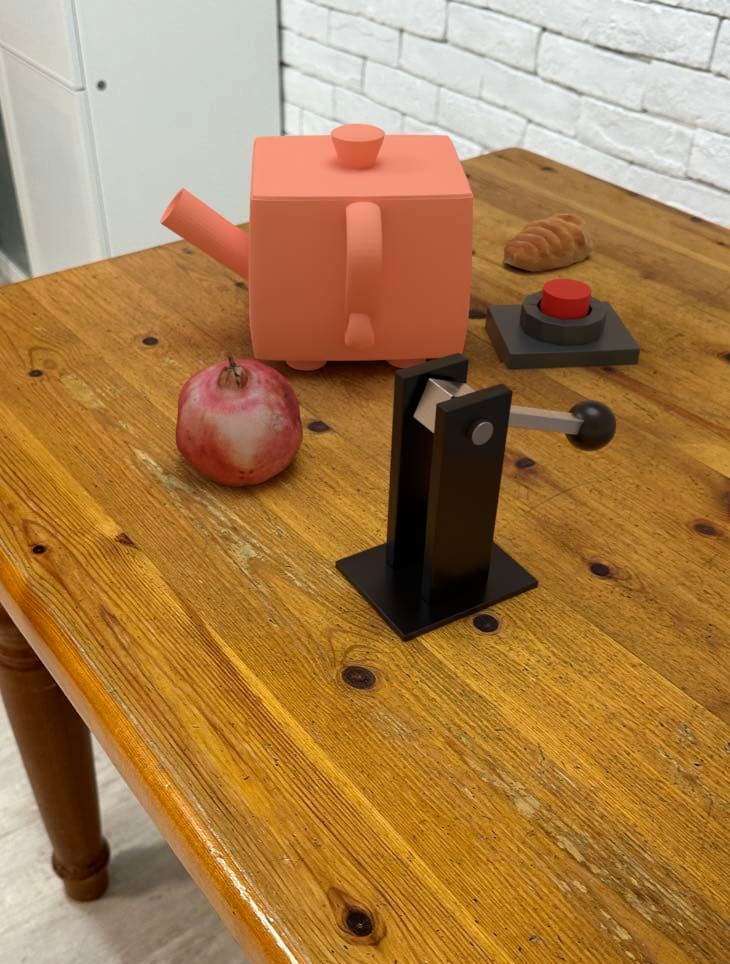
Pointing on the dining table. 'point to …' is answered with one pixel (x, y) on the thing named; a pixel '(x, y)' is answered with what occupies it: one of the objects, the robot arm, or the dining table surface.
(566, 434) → the tap lever
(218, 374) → the fruit
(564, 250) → the pastry
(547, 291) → the red push button
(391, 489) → the bracket
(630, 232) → the dining table surface
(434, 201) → the teapot
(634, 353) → the button box
